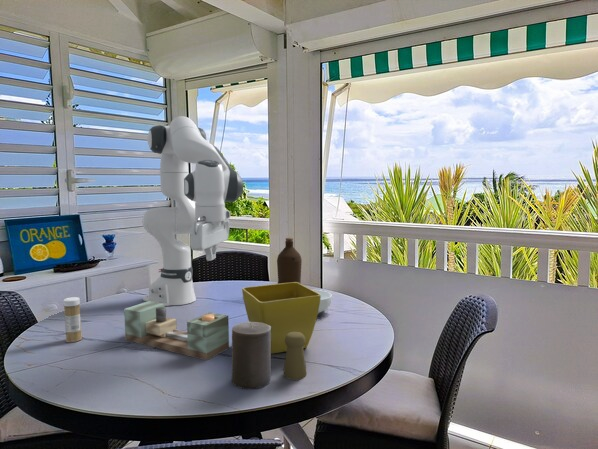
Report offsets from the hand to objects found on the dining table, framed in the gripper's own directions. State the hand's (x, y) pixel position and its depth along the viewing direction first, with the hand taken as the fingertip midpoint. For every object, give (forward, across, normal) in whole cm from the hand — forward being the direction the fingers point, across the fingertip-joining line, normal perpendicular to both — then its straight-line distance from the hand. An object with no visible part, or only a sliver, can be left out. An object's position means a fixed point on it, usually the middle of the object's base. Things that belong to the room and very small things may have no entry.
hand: (211, 259), depth 134 cm
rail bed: (+26, -5, +10) cm, 28 cm away
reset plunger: (+19, -8, -3) cm, 21 cm away
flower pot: (+26, +2, -22) cm, 34 cm away
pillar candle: (+25, -23, -21) cm, 40 cm away
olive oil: (+28, +58, -10) cm, 65 cm away
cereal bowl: (+27, +36, -24) cm, 50 cm away
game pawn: (+25, -17, -31) cm, 43 cm away
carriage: (+24, -3, +16) cm, 29 cm away
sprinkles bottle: (+26, -10, +43) cm, 51 cm away
